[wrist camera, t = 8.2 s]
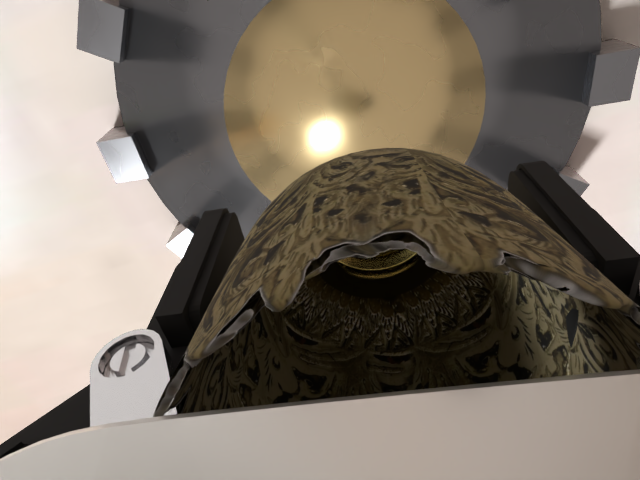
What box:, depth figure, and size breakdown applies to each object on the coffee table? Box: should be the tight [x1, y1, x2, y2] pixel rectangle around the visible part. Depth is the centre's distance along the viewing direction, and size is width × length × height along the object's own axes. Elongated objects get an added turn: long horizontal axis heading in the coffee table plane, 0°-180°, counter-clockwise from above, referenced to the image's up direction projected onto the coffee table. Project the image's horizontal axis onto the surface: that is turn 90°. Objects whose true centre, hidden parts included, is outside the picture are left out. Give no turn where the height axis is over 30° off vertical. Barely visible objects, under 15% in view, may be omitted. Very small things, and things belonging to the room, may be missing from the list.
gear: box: [77, 0, 640, 258], centre depth 19 cm, size 22×22×2 cm
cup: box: [153, 148, 640, 417], centre depth 9 cm, size 8×7×8 cm
